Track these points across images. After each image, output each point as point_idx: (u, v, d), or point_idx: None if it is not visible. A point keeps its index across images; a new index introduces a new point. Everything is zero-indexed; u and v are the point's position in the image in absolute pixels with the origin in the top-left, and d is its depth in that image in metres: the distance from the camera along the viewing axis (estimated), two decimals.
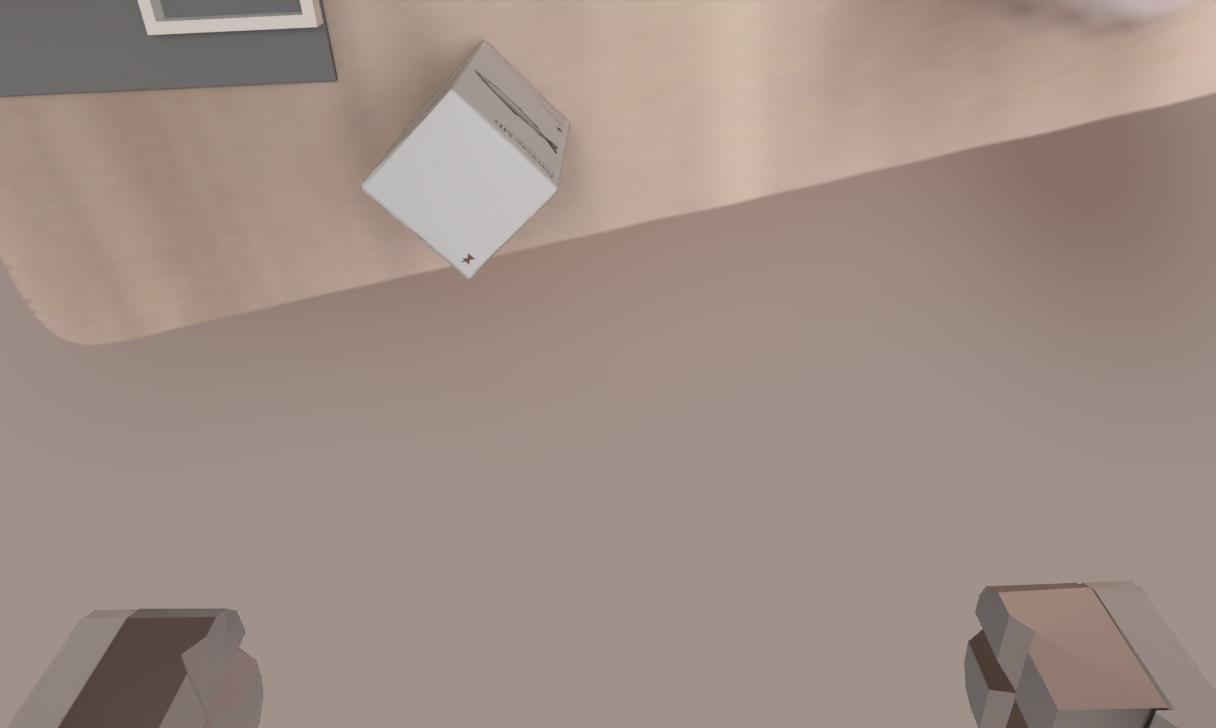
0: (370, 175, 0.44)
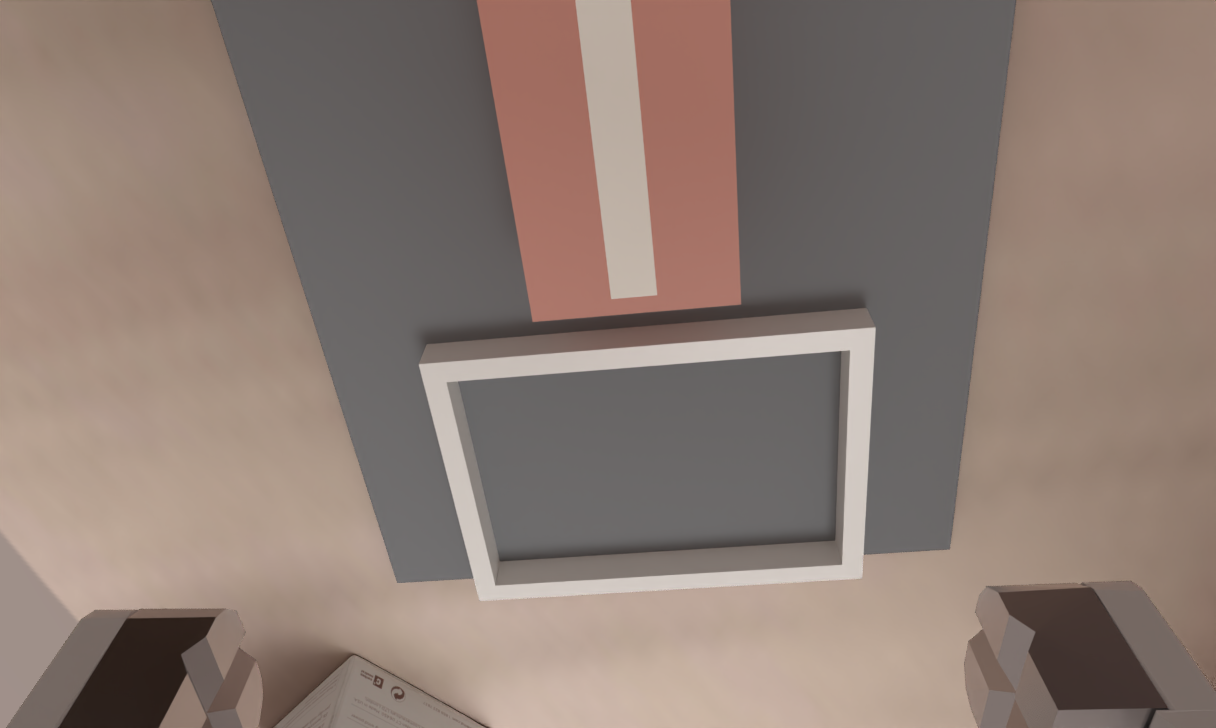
0: None
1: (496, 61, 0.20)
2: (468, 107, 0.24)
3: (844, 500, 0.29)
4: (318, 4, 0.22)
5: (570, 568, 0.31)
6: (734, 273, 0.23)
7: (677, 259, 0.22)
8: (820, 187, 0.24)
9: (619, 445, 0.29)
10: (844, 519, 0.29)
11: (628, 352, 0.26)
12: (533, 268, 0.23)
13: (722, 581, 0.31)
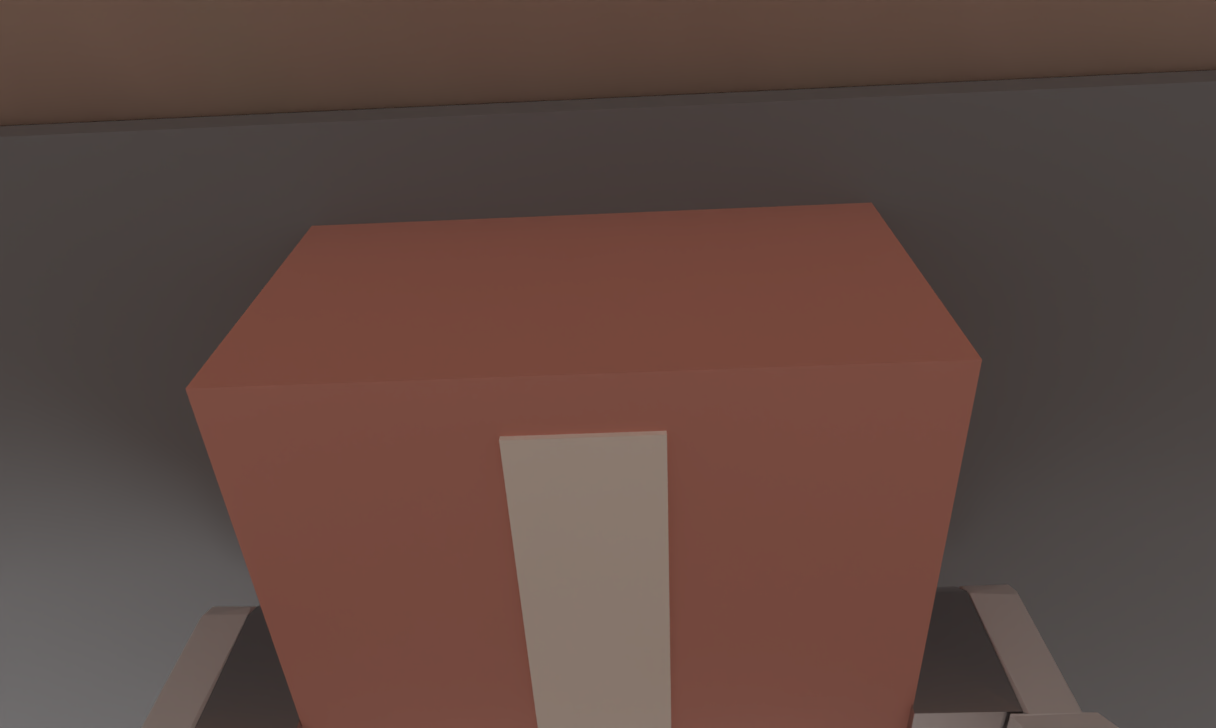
0: None
1: (290, 619, 0.07)
2: None
3: None
4: None
5: None
6: None
7: None
8: None
9: None
10: None
11: None
12: None
13: None
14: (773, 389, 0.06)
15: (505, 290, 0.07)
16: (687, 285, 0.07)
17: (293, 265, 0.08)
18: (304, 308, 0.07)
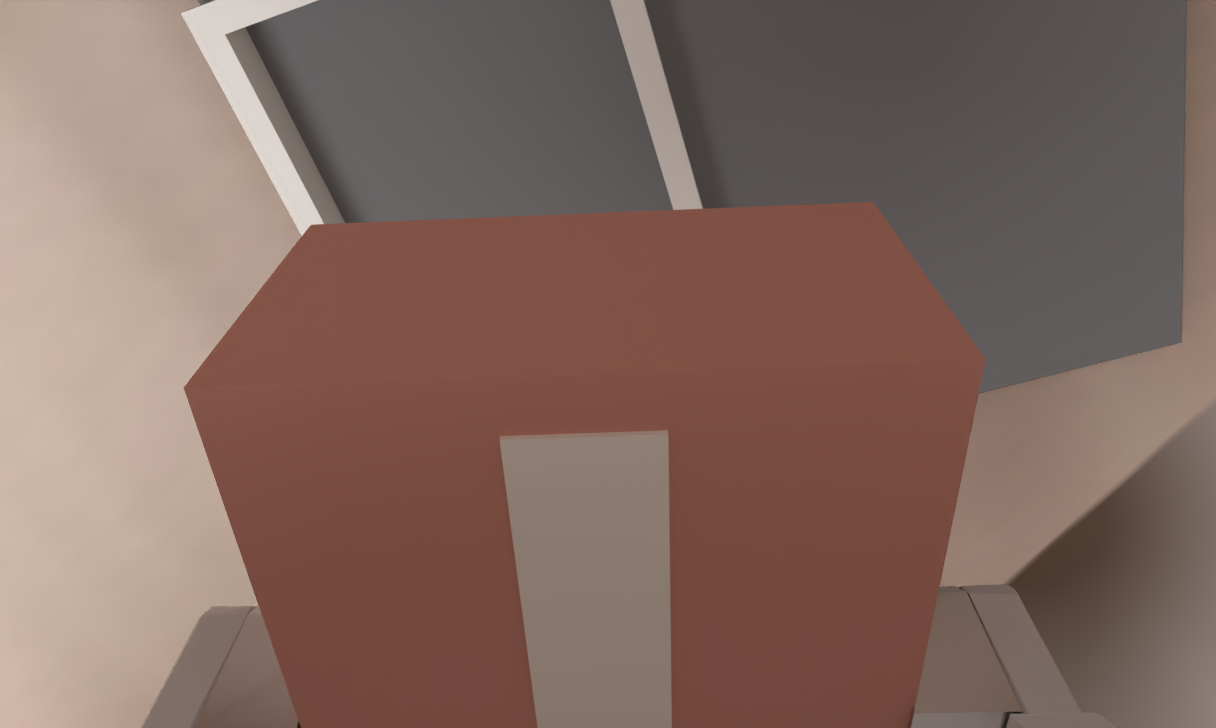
0: None
1: (289, 620, 0.07)
2: None
3: None
4: None
5: (289, 135, 0.22)
6: None
7: None
8: None
9: (506, 153, 0.23)
10: None
11: (677, 144, 0.21)
12: None
13: None
14: (777, 388, 0.06)
15: (506, 289, 0.07)
16: (689, 285, 0.07)
17: (292, 264, 0.08)
18: (303, 307, 0.07)
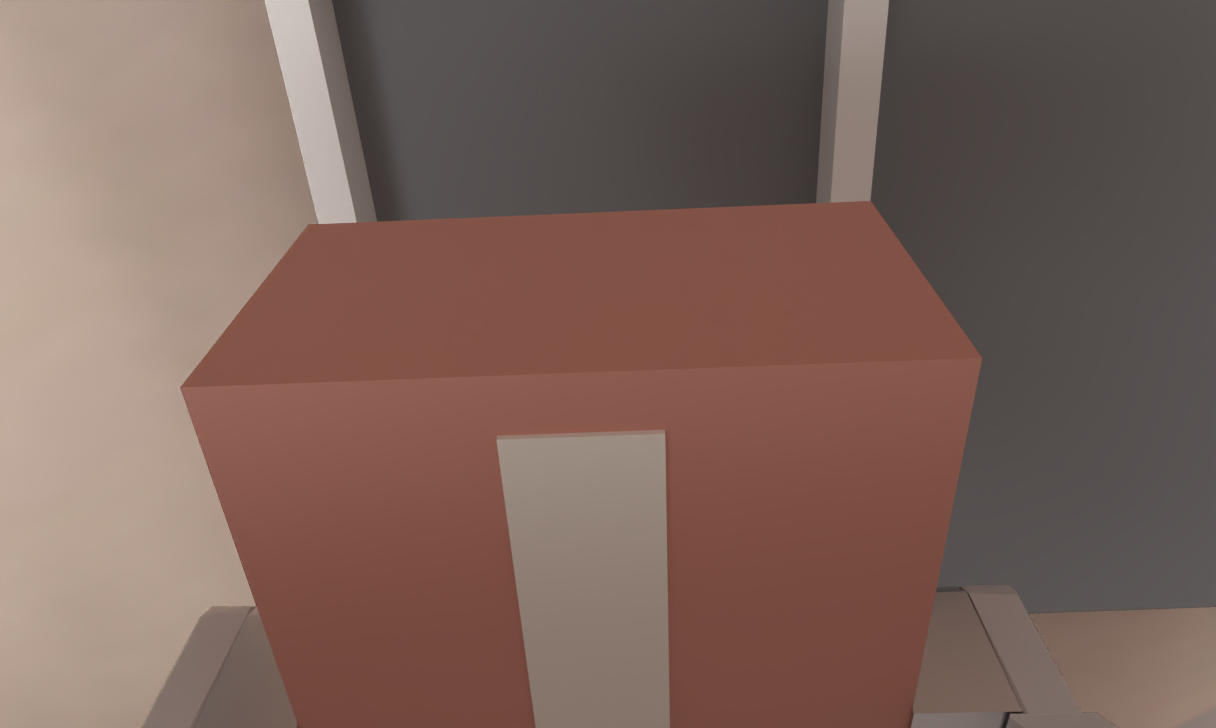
0: None
1: (286, 620, 0.07)
2: None
3: None
4: None
5: (347, 127, 0.16)
6: None
7: None
8: (1002, 467, 0.20)
9: None
10: None
11: None
12: None
13: None
14: (774, 387, 0.06)
15: (503, 288, 0.07)
16: (686, 283, 0.07)
17: (290, 263, 0.08)
18: (301, 306, 0.07)
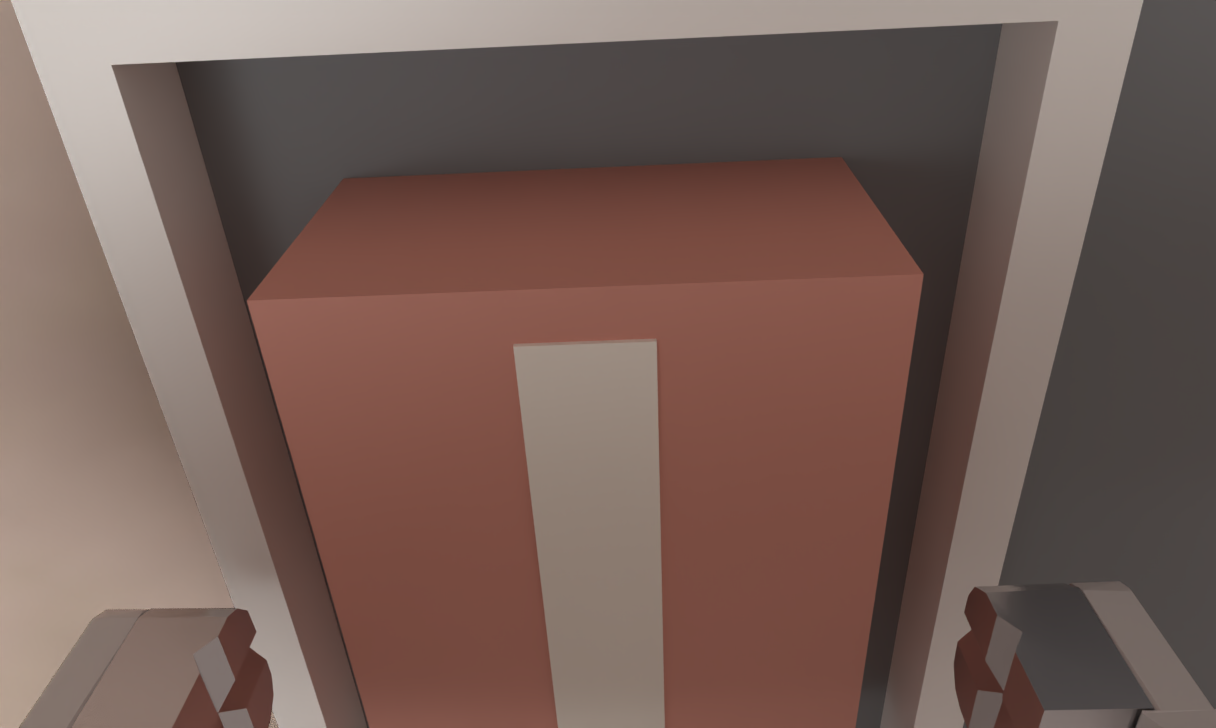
0: None
1: (329, 514, 0.08)
2: None
3: None
4: None
5: (216, 293, 0.10)
6: None
7: None
8: None
9: None
10: None
11: (1003, 507, 0.11)
12: None
13: (273, 661, 0.12)
14: (747, 301, 0.07)
15: (517, 226, 0.08)
16: (676, 221, 0.08)
17: (330, 209, 0.09)
18: (343, 241, 0.08)
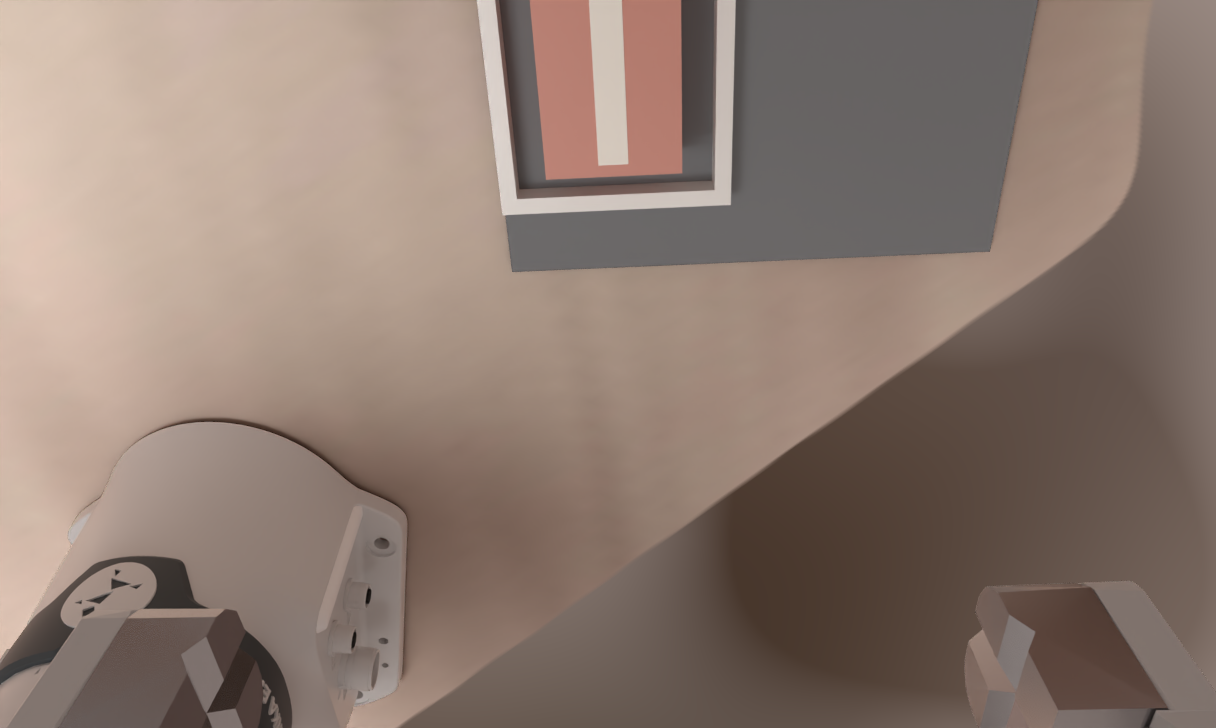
0: None
1: (535, 2, 0.32)
2: None
3: (581, 196, 0.38)
4: None
5: None
6: (678, 151, 0.35)
7: (642, 139, 0.35)
8: (818, 160, 0.38)
9: None
10: (563, 197, 0.38)
11: (730, 32, 0.34)
12: (549, 141, 0.35)
13: (495, 104, 0.36)
14: None
15: None
16: None
17: None
18: None
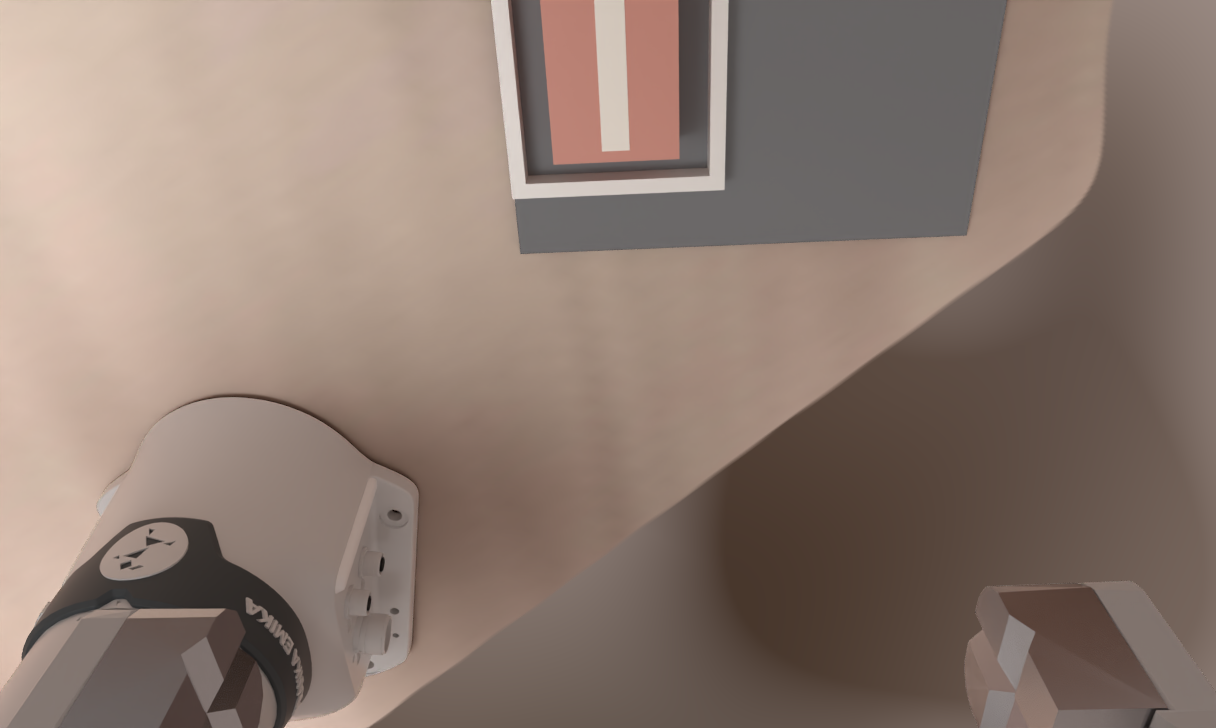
0: None
1: (545, 0, 0.35)
2: None
3: (585, 181, 0.41)
4: None
5: None
6: (676, 138, 0.38)
7: (642, 127, 0.38)
8: (805, 148, 0.41)
9: None
10: (569, 182, 0.41)
11: (723, 28, 0.37)
12: (556, 129, 0.38)
13: (507, 95, 0.39)
14: None
15: None
16: None
17: None
18: None
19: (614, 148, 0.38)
